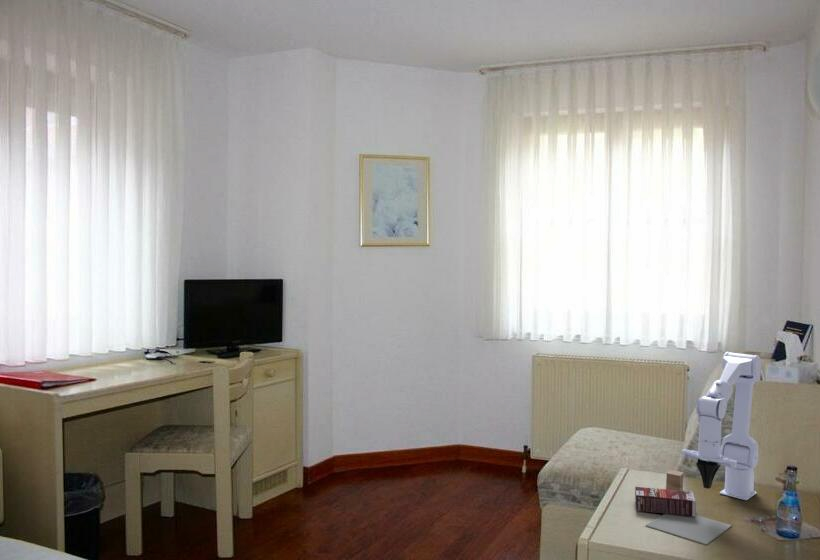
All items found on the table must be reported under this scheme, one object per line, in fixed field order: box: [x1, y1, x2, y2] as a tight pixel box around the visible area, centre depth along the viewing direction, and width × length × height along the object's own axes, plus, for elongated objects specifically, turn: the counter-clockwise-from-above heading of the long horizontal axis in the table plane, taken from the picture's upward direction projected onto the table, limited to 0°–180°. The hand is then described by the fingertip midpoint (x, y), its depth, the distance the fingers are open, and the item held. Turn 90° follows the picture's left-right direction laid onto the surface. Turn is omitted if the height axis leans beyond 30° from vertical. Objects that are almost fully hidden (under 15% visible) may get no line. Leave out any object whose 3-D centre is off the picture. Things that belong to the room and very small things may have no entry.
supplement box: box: [634, 486, 697, 517], centre depth 195 cm, size 9×5×16 cm
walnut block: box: [665, 469, 684, 491], centre depth 208 cm, size 4×4×7 cm
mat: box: [645, 513, 733, 546], centre depth 184 cm, size 18×16×1 cm
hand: (707, 487), depth 192 cm, fingers closed
